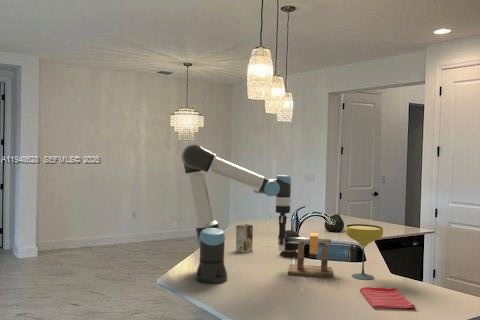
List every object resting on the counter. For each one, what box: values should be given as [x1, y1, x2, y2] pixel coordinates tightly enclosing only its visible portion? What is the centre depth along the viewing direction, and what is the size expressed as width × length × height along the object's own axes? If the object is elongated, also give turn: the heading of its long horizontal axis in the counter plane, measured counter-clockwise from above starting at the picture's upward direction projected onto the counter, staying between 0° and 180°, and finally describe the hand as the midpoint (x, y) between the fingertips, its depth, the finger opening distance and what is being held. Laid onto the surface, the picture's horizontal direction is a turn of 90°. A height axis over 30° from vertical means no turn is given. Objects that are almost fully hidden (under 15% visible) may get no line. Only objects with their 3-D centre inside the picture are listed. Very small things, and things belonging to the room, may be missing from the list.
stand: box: [287, 244, 334, 279], centre depth 229 cm, size 16×22×14 cm
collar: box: [309, 232, 319, 255], centre depth 228 cm, size 9×4×9 cm, turn 170°
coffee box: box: [235, 223, 254, 254], centre depth 275 cm, size 9×6×16 cm
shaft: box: [277, 234, 332, 246], centre depth 229 cm, size 4×26×5 cm, turn 80°
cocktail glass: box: [345, 223, 384, 281], centre depth 222 cm, size 18×18×25 cm
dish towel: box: [359, 286, 417, 312], centre depth 187 cm, size 17×24×3 cm
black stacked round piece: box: [279, 229, 301, 258], centre depth 267 cm, size 13×13×15 cm
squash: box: [324, 213, 345, 233], centre depth 355 cm, size 14×15×15 cm
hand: (281, 249), depth 231 cm, fingers closed on shaft, 5 cm apart
